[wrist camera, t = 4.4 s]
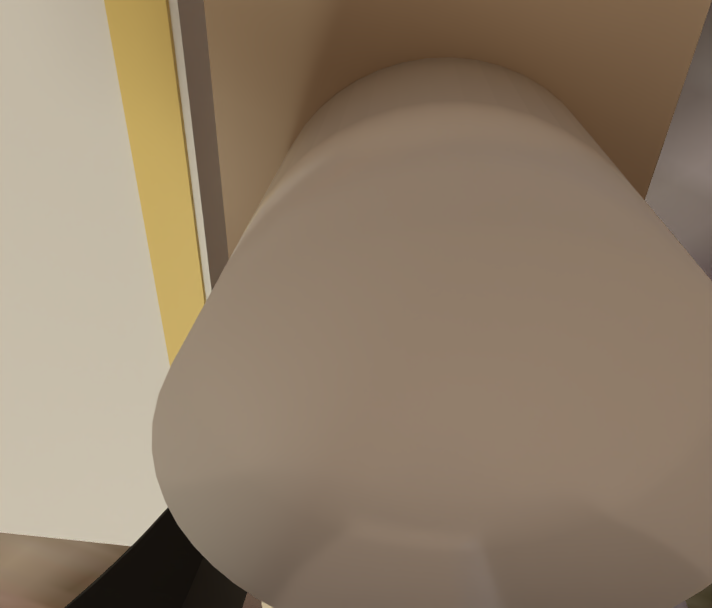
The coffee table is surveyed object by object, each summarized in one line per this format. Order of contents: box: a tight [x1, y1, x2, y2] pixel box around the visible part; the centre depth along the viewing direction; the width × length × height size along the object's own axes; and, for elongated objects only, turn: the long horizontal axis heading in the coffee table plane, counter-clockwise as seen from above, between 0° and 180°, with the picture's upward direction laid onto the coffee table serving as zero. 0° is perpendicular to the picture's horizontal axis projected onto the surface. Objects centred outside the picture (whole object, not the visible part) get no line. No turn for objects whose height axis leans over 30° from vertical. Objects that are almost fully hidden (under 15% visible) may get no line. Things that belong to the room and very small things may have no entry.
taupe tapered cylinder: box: [152, 57, 712, 608], centre depth 5 cm, size 4×4×4 cm
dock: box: [0, 0, 229, 546], centre depth 18 cm, size 26×11×3 cm, turn 178°
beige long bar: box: [204, 0, 712, 608], centre depth 12 cm, size 24×5×4 cm, turn 178°
